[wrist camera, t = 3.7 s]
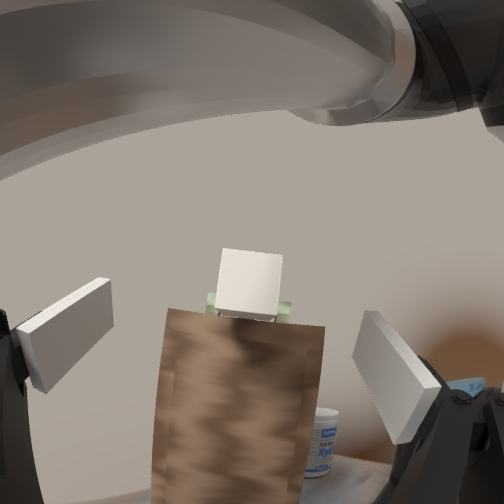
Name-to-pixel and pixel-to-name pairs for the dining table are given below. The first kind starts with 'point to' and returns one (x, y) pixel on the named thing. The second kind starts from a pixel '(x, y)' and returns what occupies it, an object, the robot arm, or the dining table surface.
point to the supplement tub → (322, 442)
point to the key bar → (248, 284)
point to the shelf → (234, 408)
